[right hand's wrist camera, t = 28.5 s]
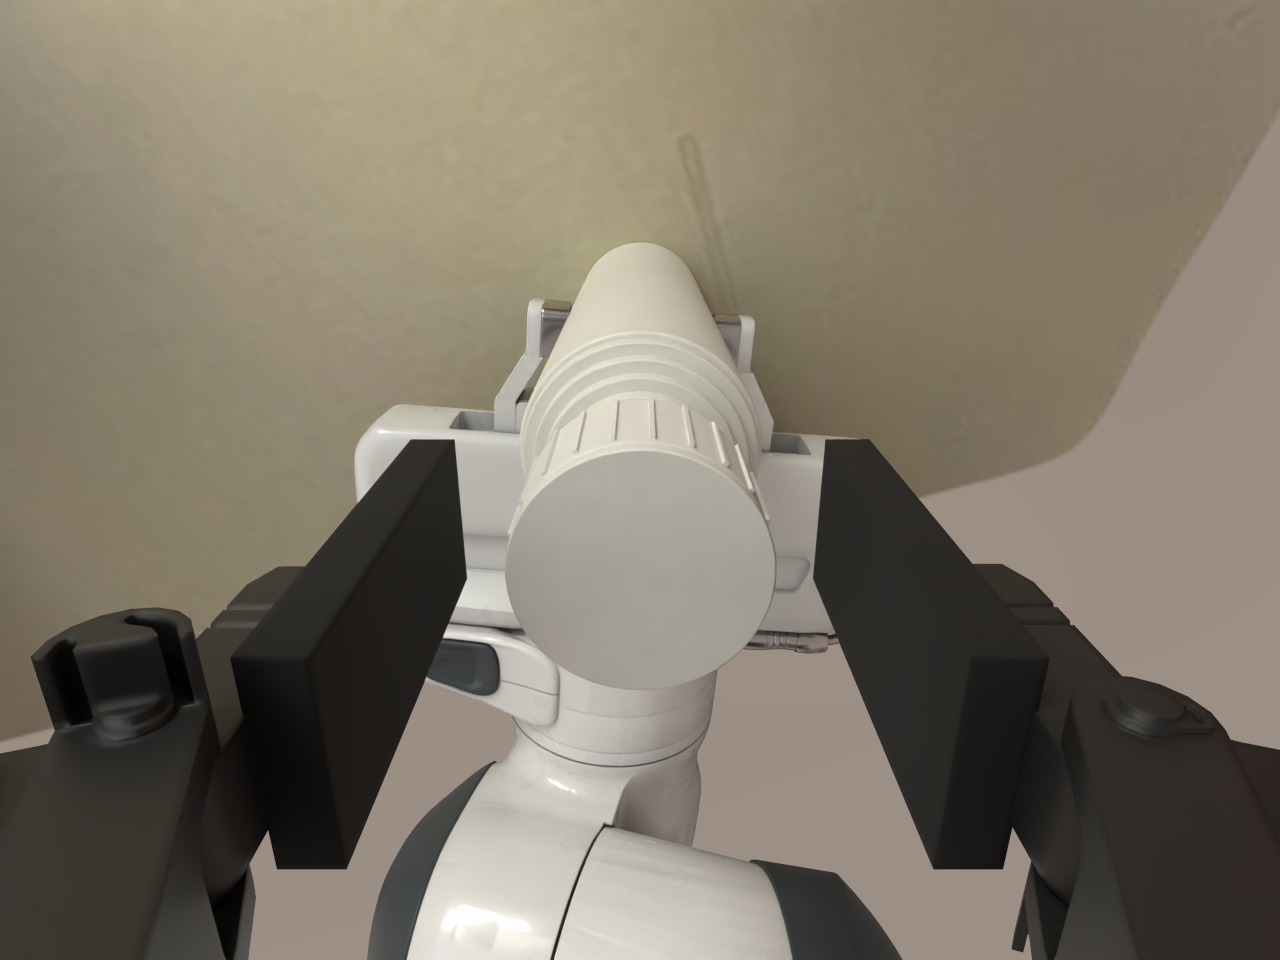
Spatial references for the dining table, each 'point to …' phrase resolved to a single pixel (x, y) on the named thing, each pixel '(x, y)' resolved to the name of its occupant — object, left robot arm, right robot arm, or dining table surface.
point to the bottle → (640, 353)
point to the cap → (640, 547)
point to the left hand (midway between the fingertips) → (641, 308)
